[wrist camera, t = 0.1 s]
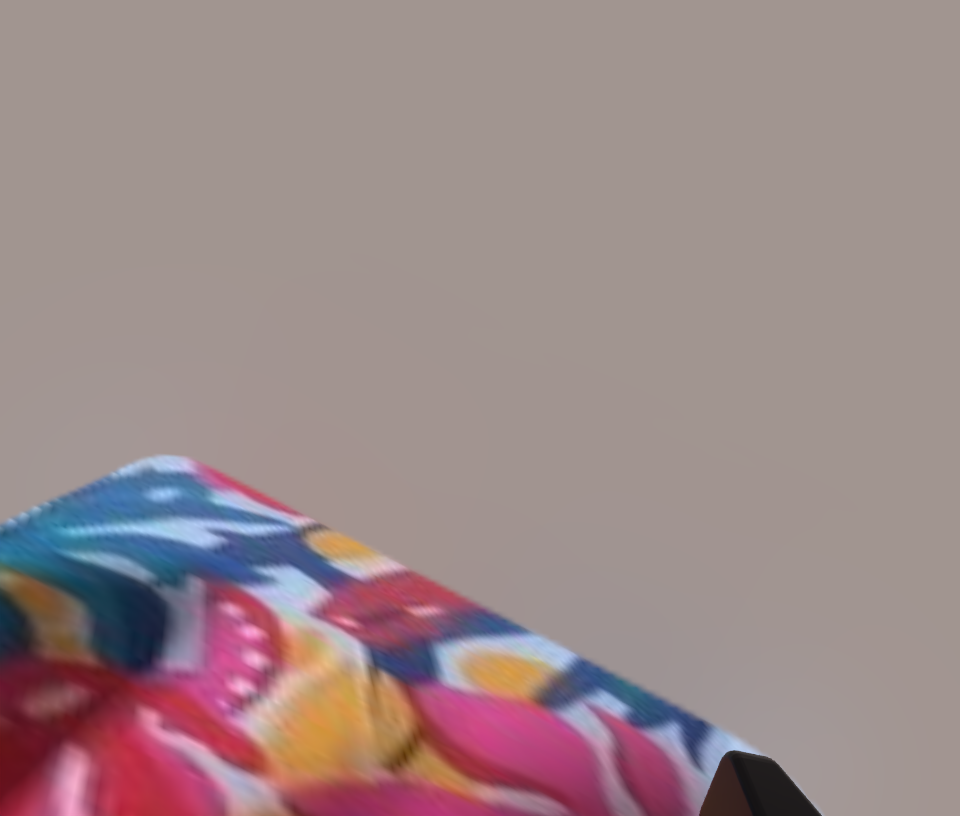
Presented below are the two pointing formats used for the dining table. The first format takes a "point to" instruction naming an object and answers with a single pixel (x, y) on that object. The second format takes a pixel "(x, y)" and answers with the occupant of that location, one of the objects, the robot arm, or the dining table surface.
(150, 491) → the dining table surface
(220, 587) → the dining table surface
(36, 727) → the dining table surface
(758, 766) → the robot arm
